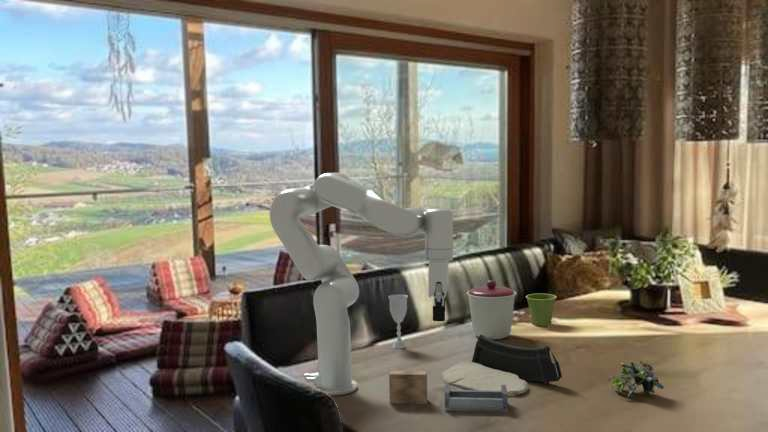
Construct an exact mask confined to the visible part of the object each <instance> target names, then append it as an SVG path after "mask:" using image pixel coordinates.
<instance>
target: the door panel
mask: <svg viewBox="0 0 768 432" xmlns="http://www.w3.org/2000/svg"><path fill="white" fill-rule="evenodd" d="M388 379H389V380H388V381H389V383H388V386H389V404H414V403H417V404H416V405H418V404H420V405H421V404H423V405H425V404H426V405H427V404H428V399H429V398H428V370H390V371H389V374H388Z"/></svg>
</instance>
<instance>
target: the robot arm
mask: <svg viewBox="0 0 768 432" xmlns="http://www.w3.org/2000/svg"><path fill="white" fill-rule="evenodd" d="M331 207H334V208H337V209H339V210H342V211H344V212H346V213H349V214H351V215H354V216H356V217H359V219H362V220H363V221H364V222H366V223H368V224H370V225H371V226H374V227H375V228H377V229H380V230H382V231H385V232H387V233H389V234H392V235H394V236H397V237H400V238H410V237H413V236H415V235H420V234H424V260H425V261H427V262H428V278H427V279H428V280H427V281H428V284H427V285H428V294H427V295H428V298H430V299H431V298H432V297H433V306H432V321H433V322H445V320H446V297H447V295H448V288H449V262H451V261H453V260H454V233H453V232H454V222H453V221H454V214H453V211H452V210H451V209H450V208H443V207H442V208H438V207H437V208H436V207H435V208H424V207H416V206H413V207H406V208H404V207H400V206H398V205H396V204H393V203H390V202H388V201H386V200H384V199H382V198H381V197H380V196H378V195H377V194H376V192H375V191H374V190H373V188H370V187H368V186H365V185H362V184H360V183H357V182H354V181H352V180H351V179H350V178H349V177H348V176H347V175H346V174H344V173H341V172H326V173H325V172H324V173H322V174H320V175H319V176H318V177H317V178H316V179H315V181H314V182H313V183H312V184H309V185H307V186H305V187H295V188H287V189H285V190H282V191H280V192H279V193H278V194H276V196H275V197H274V198H273V201H272V202H271V205H270V209H269V221H270V225H271V227H272V229H273V231H274V233H275V234H276V236H277V238H278V239H279V241H280V242H281V243H282V245H283V247H284V248H285V250H286V252H287V254H288V255H289V257H290V259H291V260H292V261H293V263H294V265H295V267H296V269H297V270H298V273H300V275H301V276H302V277H303V278H304V279H305V280H307V281H310V282H315V281H318V280H320V281H321V284H319V285H318V287H317V288H316V289H315V291H314V294H313V298H312V299H313V303H312V305H313V309H314V314H315V319H316V320H315V321H316V337H317V339H316V340H317V343H316V344H317V367H318V368H317V369H318V372H315V373H304V376H303V379H304V381H306V383H314V384H313V388H314V387H315V388H317V389H320V390H322V391H324V392H326V393H328V394H329V395H328V396H340V395H341V396H342V395H347V394H350V393H353V392H355V391H356V390H357V388H358V383H357V381H355V380H354V379H352V373H353V372H352V348H351V346H352V344H351V343H352V342H351V339H352V338H351V323H350V317H349V314H348V307H350V306H352V305H354V303H356V301H357V300H358V298H359V296H360V288H359V284H358V282H357V280H356V278H355V277H354V275H353V273H352V272H351V270H350V269H349V266H348V265H347V264H346V262H345V261H344V259H343V257H342V256H341V254H340V253H339V252H338V251H337V249H335V248H334V247H333V246H330V245H328V244H318V242H317V241H316V239H315V238H314V236H313V235H312V233H311V231H310V230H309V229H308V227H306V225H305V224H304V223H303V222H302V221H301V219H300V218H302V217H308V216H311V215H315V214H317V213H319V212H322V211H323V210H326V209H328V208H331Z"/></svg>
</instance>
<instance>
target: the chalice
mask: <svg viewBox="0 0 768 432" xmlns="http://www.w3.org/2000/svg"><path fill="white" fill-rule="evenodd" d="M387 297H388V299H389V311H390V314H391V317H392V319H393V322H395V323H396V330H397V332H396V335H397V338H396V339H395V340H394V341H393V344H392V347H391V348H393V349H396V350H397V349H401V350H402V349H405V347H406V348H407V345H406V343H405V340H404V339H403V338H401V337H402V336H401V335H402V332H401V328H402V327H401V323H402V322H404V319H405V317H406V315H407V310H408V305H407V304H408V300H407V299H408V297H409V296H408V294H398V293H397V294H391V295H388V296H387Z"/></svg>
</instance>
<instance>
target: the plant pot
mask: <svg viewBox="0 0 768 432" xmlns="http://www.w3.org/2000/svg"><path fill="white" fill-rule="evenodd" d="M525 298H526V299H527V304H528V307H529V313H530V319H531V324H532V325H534V326H536V325H539V326H538V327H545V326H547V327H549V326H551V325H552V320H553V319H552V318H553V313H554V312H553V310H554V306H555V302H556V299H557V295H554V294H550V293H531V294H527V295H526V296H525ZM548 325H549V326H548Z"/></svg>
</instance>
